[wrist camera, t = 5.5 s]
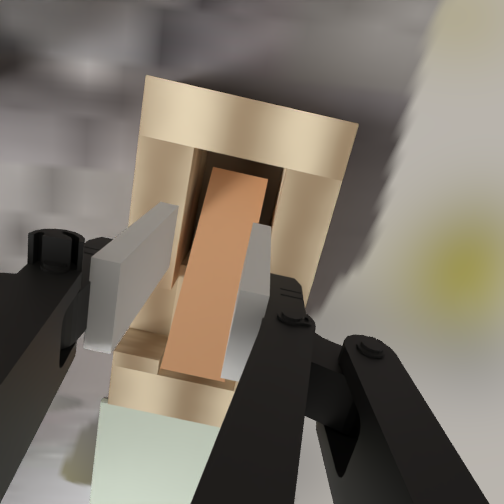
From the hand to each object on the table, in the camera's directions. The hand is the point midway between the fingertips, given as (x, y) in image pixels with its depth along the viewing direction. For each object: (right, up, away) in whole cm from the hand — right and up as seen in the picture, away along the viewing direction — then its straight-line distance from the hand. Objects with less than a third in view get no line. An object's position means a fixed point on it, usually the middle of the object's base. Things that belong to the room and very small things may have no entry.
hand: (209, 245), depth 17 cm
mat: (-9, -22, +26) cm, 35 cm away
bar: (-1, -2, +14) cm, 14 cm away
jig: (-1, -1, +18) cm, 18 cm away
